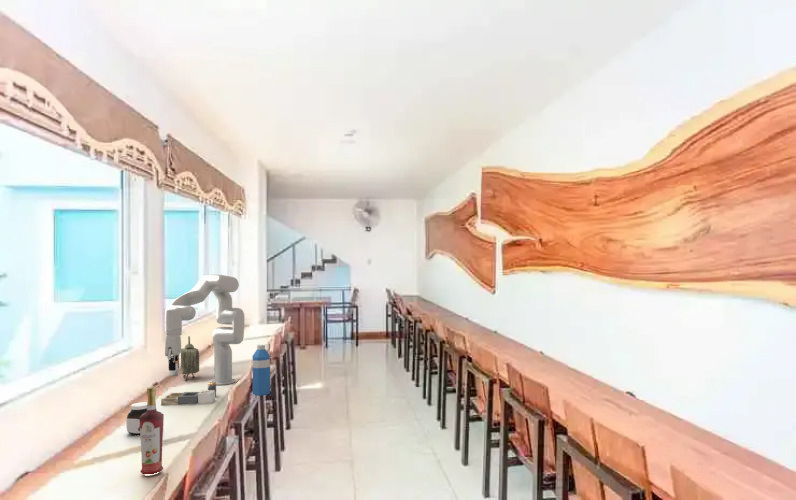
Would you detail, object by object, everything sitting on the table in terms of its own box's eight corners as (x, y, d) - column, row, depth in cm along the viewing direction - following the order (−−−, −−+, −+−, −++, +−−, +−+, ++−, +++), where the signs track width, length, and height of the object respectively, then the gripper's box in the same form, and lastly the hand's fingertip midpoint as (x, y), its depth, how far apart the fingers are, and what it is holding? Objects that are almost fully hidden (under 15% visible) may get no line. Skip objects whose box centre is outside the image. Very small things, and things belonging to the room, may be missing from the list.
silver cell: (171, 374, 282) (171, 360, 282) (179, 374, 282) (179, 360, 282) (168, 376, 278) (168, 361, 278) (176, 376, 278) (176, 361, 278)
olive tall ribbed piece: (181, 377, 338) (180, 335, 338) (197, 375, 342) (196, 334, 342) (182, 382, 325) (182, 338, 325) (199, 380, 328) (199, 337, 329)
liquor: (167, 469, 189) (166, 385, 190) (159, 477, 182) (158, 390, 182) (145, 469, 189) (144, 385, 189) (135, 478, 182) (135, 390, 182)
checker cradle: (184, 399, 283) (184, 392, 283) (202, 399, 283) (202, 391, 283) (177, 404, 274) (177, 396, 274) (196, 404, 274) (196, 396, 274)
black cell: (209, 395, 291) (209, 382, 291) (217, 395, 291) (217, 382, 291) (206, 397, 287) (206, 383, 287) (214, 397, 287) (214, 383, 287)
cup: (202, 400, 281) (202, 390, 281) (215, 400, 281) (215, 390, 281) (198, 403, 275) (197, 393, 275) (211, 403, 275) (211, 393, 275)
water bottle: (273, 391, 299) (272, 343, 299) (267, 395, 290) (266, 346, 290) (255, 391, 300) (255, 343, 300) (249, 395, 291) (249, 346, 291)
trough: (170, 398, 285) (170, 392, 285) (186, 398, 286) (186, 392, 286) (161, 405, 273) (161, 398, 273) (177, 404, 274) (177, 398, 274)
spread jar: (125, 437, 225) (124, 407, 225) (130, 428, 236) (130, 400, 236) (157, 434, 228) (157, 405, 228) (161, 426, 239) (161, 398, 239)
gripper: (172, 330, 288) (172, 366, 288) (159, 334, 271) (159, 373, 271) (187, 330, 288) (187, 366, 288) (175, 334, 272) (175, 372, 271)
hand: (173, 369), depth 280 cm, fingers closed on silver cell, 4 cm apart
